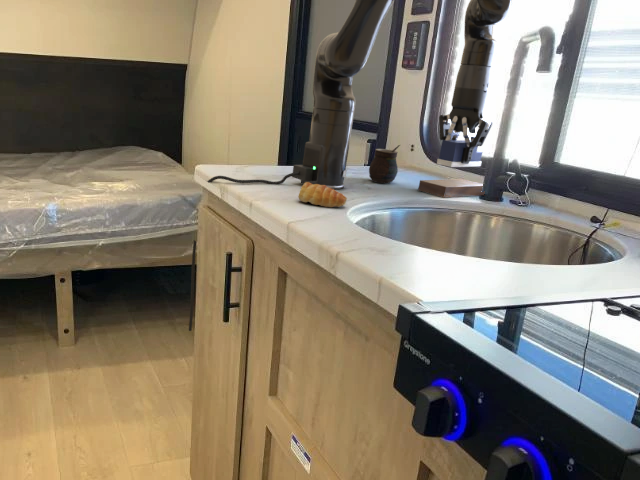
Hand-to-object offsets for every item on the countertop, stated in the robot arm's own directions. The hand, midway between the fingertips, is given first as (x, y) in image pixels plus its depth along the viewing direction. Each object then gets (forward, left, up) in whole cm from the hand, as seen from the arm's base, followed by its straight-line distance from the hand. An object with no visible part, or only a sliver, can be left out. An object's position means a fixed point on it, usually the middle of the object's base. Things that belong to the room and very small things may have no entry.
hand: (456, 161), depth 144 cm
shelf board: (+1, 0, -8) cm, 8 cm away
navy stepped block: (+1, 0, -1) cm, 1 cm away
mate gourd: (-9, +15, -8) cm, 19 cm away
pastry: (-44, -3, -8) cm, 45 cm away
